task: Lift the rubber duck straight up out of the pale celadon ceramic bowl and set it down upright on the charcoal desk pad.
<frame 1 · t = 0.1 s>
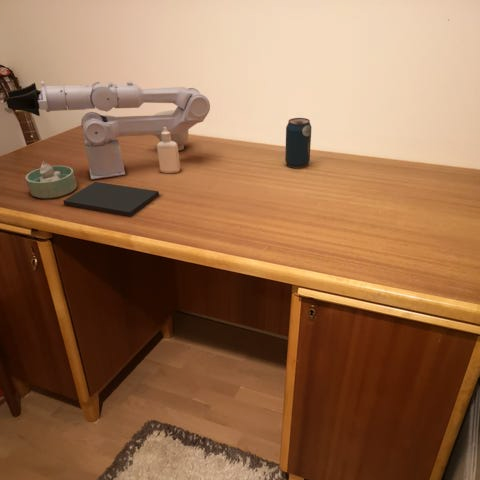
hand: (7, 100, 115), 22 cm above the table, tool horizontal, fingers open, 7 cm apart
desk pad: (112, 200, 118), on the table
soda can: (297, 165, 133), on the table
bowl: (54, 190, 124), on the table
teacup: (170, 149, 148), on the table
eye dropper bottle: (170, 171, 132), on the table
rubber duck: (54, 189, 124), resting on bowl
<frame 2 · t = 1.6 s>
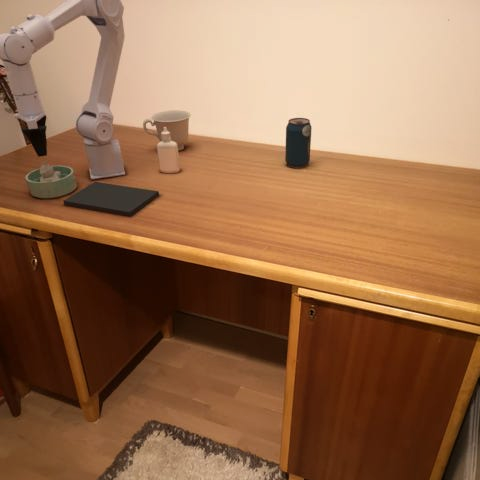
hand: (42, 151, 118), 10 cm above the table, tool pointing down, fingers open, 7 cm apart
nothing on the table moved.
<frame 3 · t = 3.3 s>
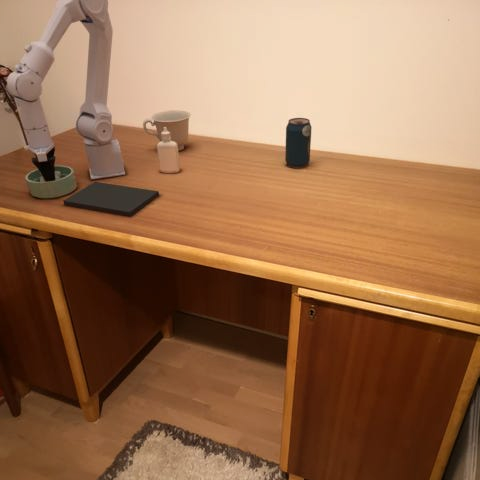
hand: (51, 180, 123), 3 cm above the table, tool pointing down, fingers closed on rubber duck, 5 cm apart
rubber duck: (54, 189, 124), resting on bowl, touching gripper
everything else where it was.
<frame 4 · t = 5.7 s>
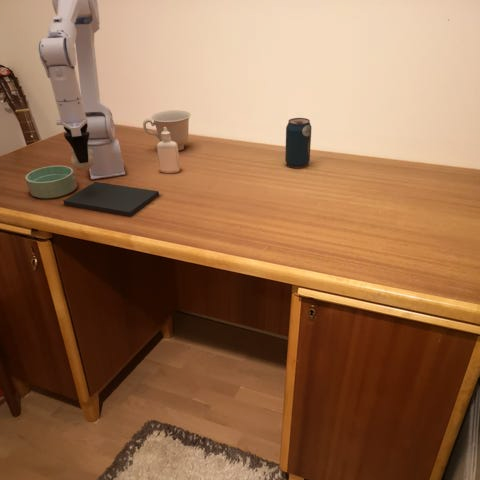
hand: (83, 158, 114), 10 cm above the table, tool pointing down, fingers closed on rubber duck, 5 cm apart
rubber duck: (85, 168, 115), point 7 cm above the table, touching gripper
everything else where it was.
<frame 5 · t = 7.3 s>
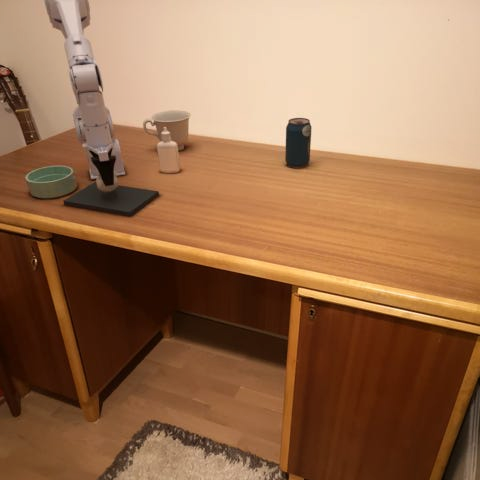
hand: (108, 180, 115), 5 cm above the table, tool pointing down, fingers closed on rubber duck, 5 cm apart
rubber duck: (109, 190, 116), point 2 cm above the table, touching gripper
everything else where it was.
when the fingers open (4 cm above the table, at t = 8.3 s): rubber duck stays where it is, resting on desk pad.
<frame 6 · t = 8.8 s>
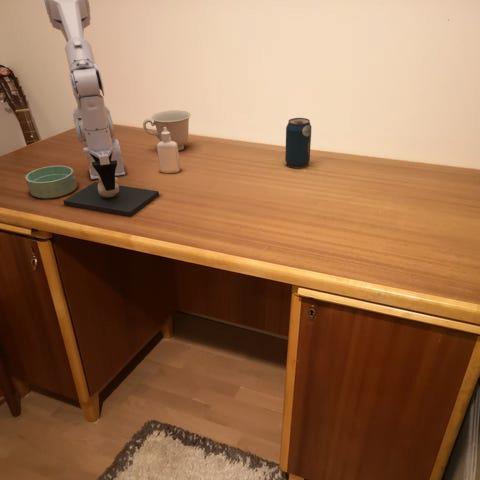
hand: (108, 184, 115), 4 cm above the table, tool pointing down, fingers open, 7 cm apart
rubber duck: (111, 196, 117), point 1 cm above the table, touching desk pad
everything else where it was.
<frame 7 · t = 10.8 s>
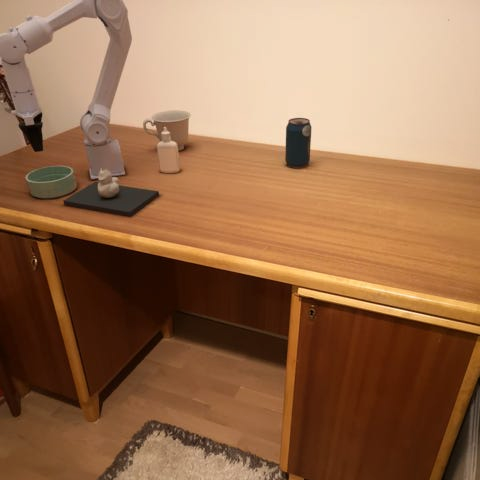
hand: (39, 146, 122), 10 cm above the table, tool pointing down, fingers open, 7 cm apart
nothing on the table moved.
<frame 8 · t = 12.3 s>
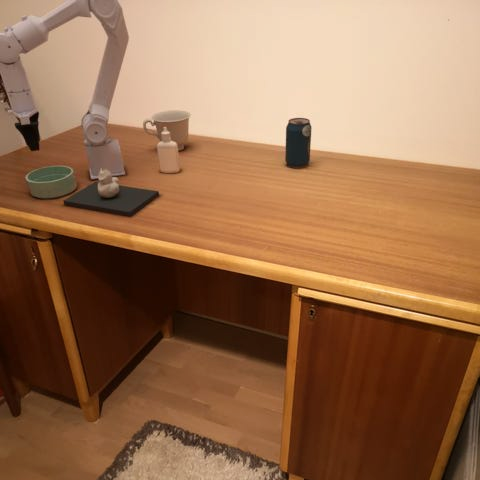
hand: (35, 146, 123), 10 cm above the table, tool pointing down, fingers open, 7 cm apart
nothing on the table moved.
at the end: rubber duck 0.1 cm from the desk pad (horizontally); rubber duck tilted 0°; the gripper is holding nothing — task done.
